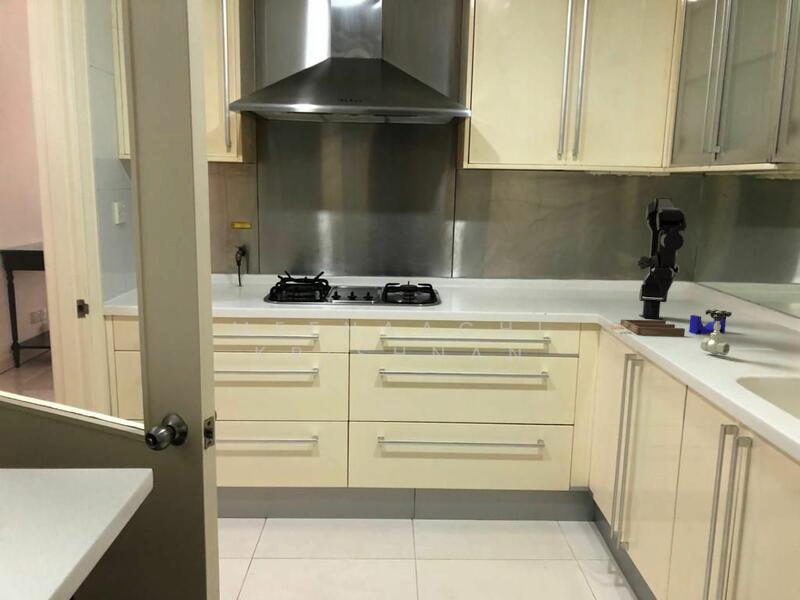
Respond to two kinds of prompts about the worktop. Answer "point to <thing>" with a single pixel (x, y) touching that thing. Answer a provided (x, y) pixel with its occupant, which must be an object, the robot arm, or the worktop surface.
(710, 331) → the cable clip
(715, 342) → the valve
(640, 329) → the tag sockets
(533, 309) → the worktop surface
